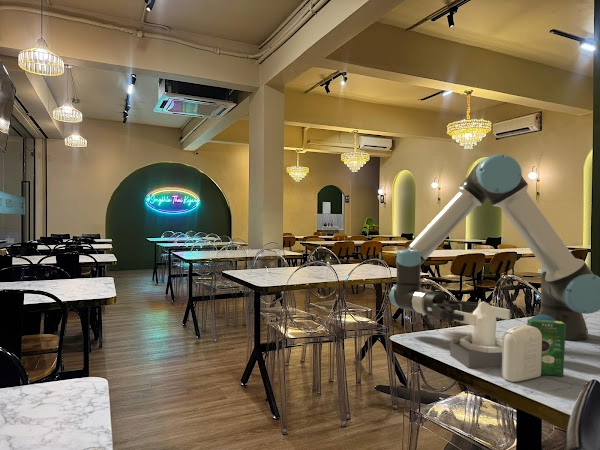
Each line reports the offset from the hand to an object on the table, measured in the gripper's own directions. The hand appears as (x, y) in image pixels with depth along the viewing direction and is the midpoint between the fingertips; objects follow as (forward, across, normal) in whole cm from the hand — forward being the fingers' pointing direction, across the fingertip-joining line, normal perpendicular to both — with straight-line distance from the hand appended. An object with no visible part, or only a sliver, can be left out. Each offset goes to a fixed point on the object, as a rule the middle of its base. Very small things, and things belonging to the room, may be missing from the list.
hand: (493, 317), depth 110 cm
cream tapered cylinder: (-3, 0, -8) cm, 9 cm away
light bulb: (+4, -16, -12) cm, 20 cm away
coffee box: (+11, -5, -12) cm, 17 cm away
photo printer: (+10, +3, -12) cm, 16 cm away
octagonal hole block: (-3, 0, -12) cm, 12 cm away
